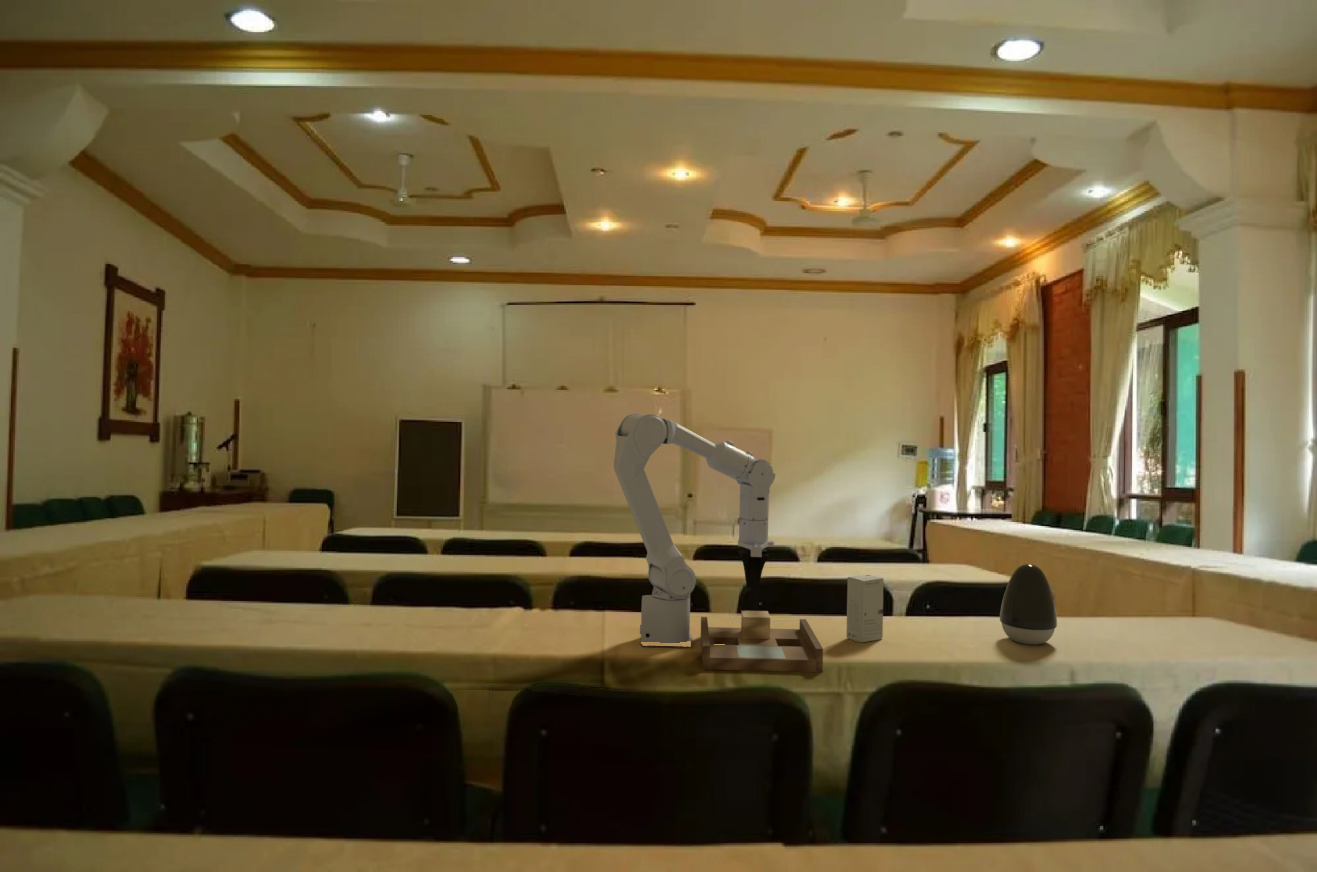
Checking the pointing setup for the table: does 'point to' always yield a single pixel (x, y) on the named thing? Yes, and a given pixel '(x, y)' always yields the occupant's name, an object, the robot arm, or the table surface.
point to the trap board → (761, 649)
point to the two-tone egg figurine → (1028, 607)
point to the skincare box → (865, 608)
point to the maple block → (755, 624)
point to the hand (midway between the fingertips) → (752, 587)
